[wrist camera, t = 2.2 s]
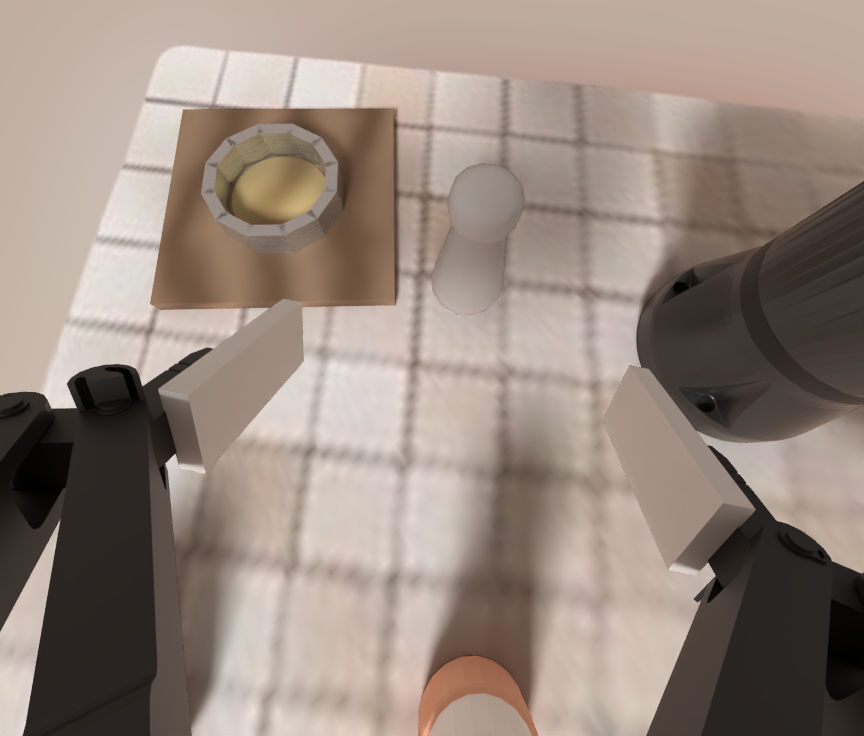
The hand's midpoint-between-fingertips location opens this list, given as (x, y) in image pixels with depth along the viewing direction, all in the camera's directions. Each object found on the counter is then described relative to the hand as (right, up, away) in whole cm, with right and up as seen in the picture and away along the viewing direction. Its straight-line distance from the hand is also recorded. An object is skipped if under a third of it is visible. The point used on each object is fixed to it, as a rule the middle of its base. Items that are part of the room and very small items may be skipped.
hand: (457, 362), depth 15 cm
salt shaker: (+2, +6, +18) cm, 19 cm away
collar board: (-15, +15, +19) cm, 28 cm away
